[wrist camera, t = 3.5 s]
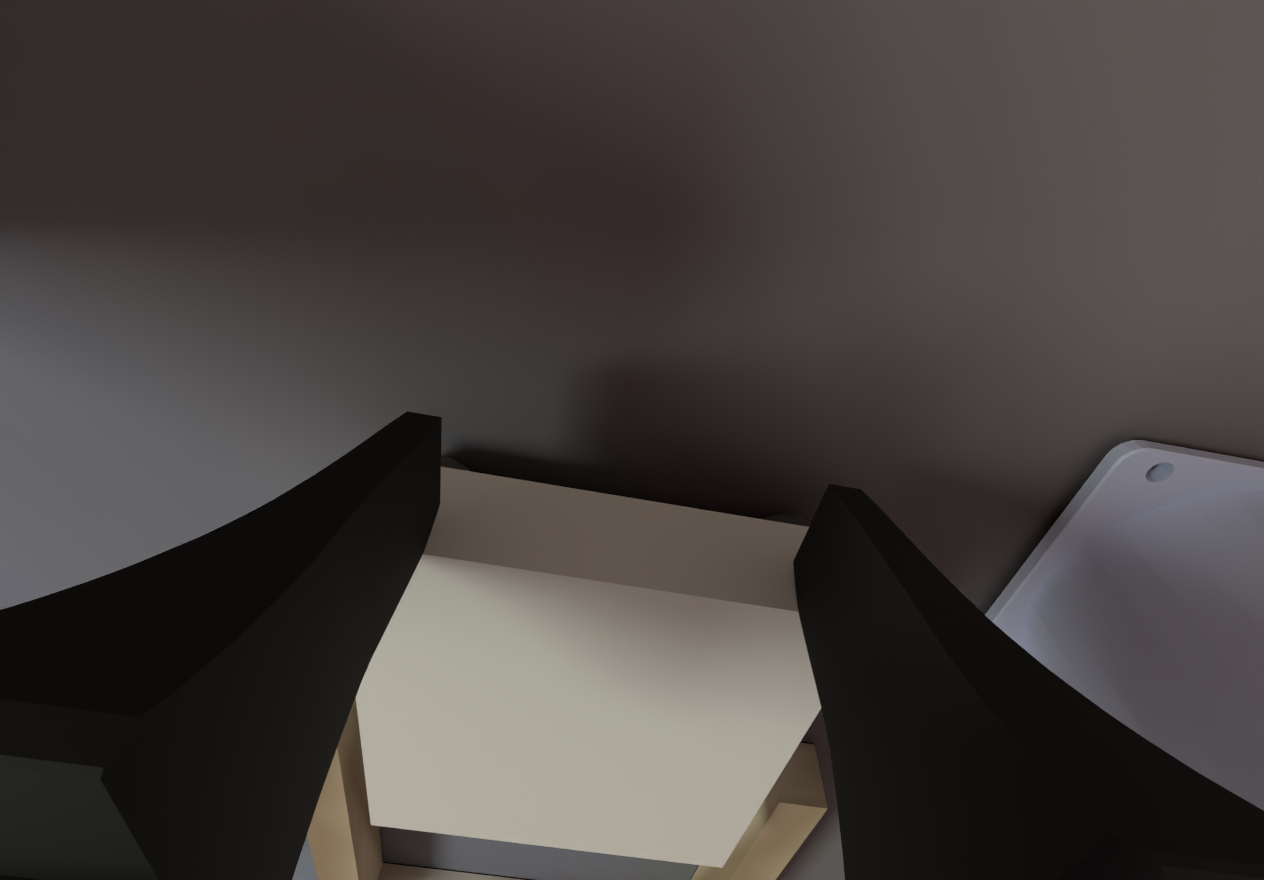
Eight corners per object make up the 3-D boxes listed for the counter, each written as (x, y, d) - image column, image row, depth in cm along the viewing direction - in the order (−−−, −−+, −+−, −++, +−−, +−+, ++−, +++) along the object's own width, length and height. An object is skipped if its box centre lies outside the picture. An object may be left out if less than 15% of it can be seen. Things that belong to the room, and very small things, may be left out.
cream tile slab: (831, 503, 15) (873, 623, 12) (714, 749, 21) (722, 867, 18) (403, 431, 14) (337, 540, 11) (411, 708, 20) (371, 824, 17)
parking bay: (814, 744, 21) (828, 808, 19) (705, 914, 29) (708, 969, 27) (314, 676, 19) (282, 738, 18) (349, 873, 28) (330, 928, 26)
